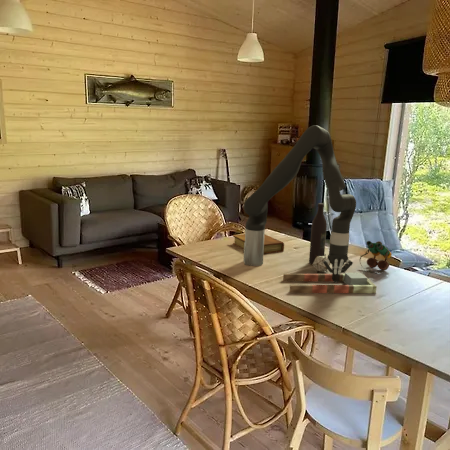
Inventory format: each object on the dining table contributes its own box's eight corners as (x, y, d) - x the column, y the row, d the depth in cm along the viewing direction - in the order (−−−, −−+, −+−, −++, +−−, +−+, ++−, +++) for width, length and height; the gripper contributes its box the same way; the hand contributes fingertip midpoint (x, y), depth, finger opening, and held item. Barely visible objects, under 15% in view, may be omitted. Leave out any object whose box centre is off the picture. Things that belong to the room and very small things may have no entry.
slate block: (350, 288, 187) (351, 278, 186) (344, 282, 194) (344, 272, 193) (366, 288, 188) (367, 278, 187) (359, 282, 195) (360, 272, 194)
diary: (283, 252, 238) (284, 242, 237) (253, 256, 230) (254, 245, 228) (261, 241, 258) (261, 231, 257) (232, 244, 250) (233, 234, 248)
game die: (323, 280, 206) (332, 268, 198) (306, 272, 207) (314, 260, 199) (327, 266, 212) (336, 254, 204) (311, 259, 213) (319, 246, 205)
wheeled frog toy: (389, 279, 208) (399, 250, 211) (380, 270, 198) (390, 240, 201) (361, 272, 217) (370, 244, 220) (351, 263, 207) (361, 234, 210)
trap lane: (290, 292, 179) (290, 285, 179) (283, 280, 194) (283, 273, 193) (375, 293, 182) (376, 286, 181) (362, 280, 196) (363, 274, 196)
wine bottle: (319, 266, 213) (324, 205, 207) (306, 263, 217) (310, 203, 211) (325, 263, 219) (331, 203, 212) (312, 260, 223) (317, 201, 216)
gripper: (326, 244, 180) (322, 284, 184) (358, 245, 181) (353, 285, 184) (321, 239, 187) (317, 278, 191) (351, 240, 188) (347, 279, 192)
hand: (335, 281), depth 188 cm, fingers closed
